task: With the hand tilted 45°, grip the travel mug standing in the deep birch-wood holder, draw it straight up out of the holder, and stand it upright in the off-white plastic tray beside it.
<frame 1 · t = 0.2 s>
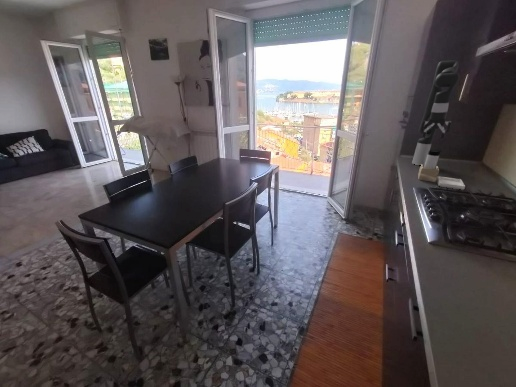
hand: (432, 138, 144), 29 cm above the worktop, tool pointing down, fingers open, 8 cm apart
travel mug: (426, 178, 160), resting in holder
tray: (449, 184, 150), on the worktop
holder: (426, 178, 160), on the worktop
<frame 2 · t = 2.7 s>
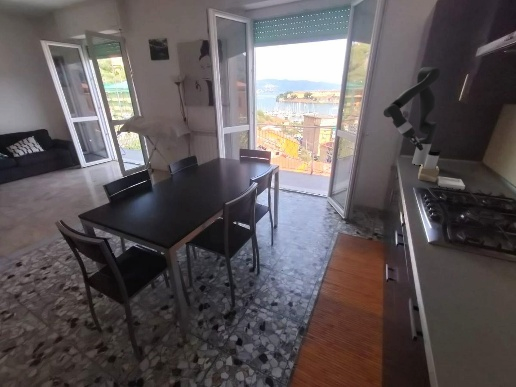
hand: (421, 148, 155), 20 cm above the worktop, tool tilted 45°, fingers open, 8 cm apart
nothing on the worktop moved.
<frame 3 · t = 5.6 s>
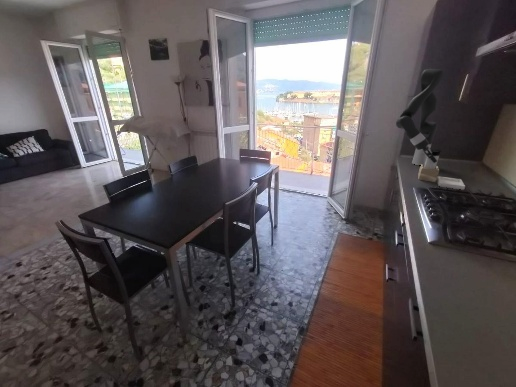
hand: (435, 160, 154), 13 cm above the worktop, tool tilted 45°, fingers closed on travel mug, 6 cm apart
travel mug: (426, 178, 160), resting in holder, touching gripper
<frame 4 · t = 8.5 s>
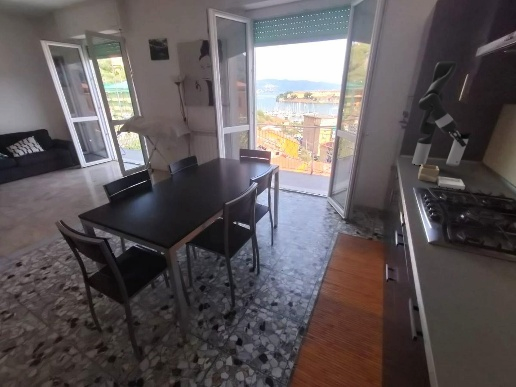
hand: (463, 144, 139), 26 cm above the worktop, tool tilted 45°, fingers closed on travel mug, 6 cm apart
travel mug: (452, 165, 145), point 13 cm above the worktop, touching gripper
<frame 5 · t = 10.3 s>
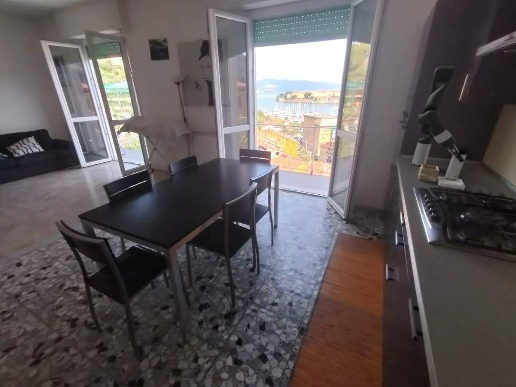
hand: (461, 160, 142), 17 cm above the worktop, tool tilted 45°, fingers closed on travel mug, 6 cm apart
travel mug: (450, 179, 148), point 4 cm above the worktop, touching gripper
when the fingers open (15 cm above the worktop, at t = 11.6 s): travel mug drops 1 cm, resting on tray.
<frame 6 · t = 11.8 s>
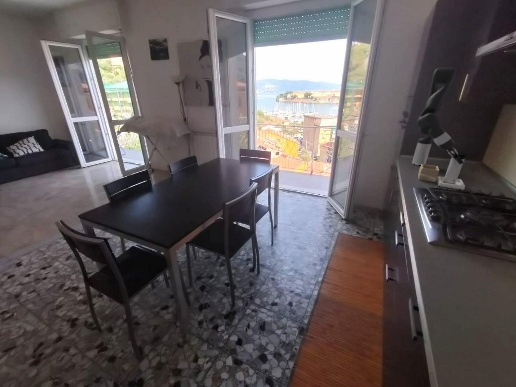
hand: (460, 161, 143), 16 cm above the worktop, tool tilted 45°, fingers open, 7 cm apart
travel mug: (449, 183, 150), point 1 cm above the worktop, touching tray
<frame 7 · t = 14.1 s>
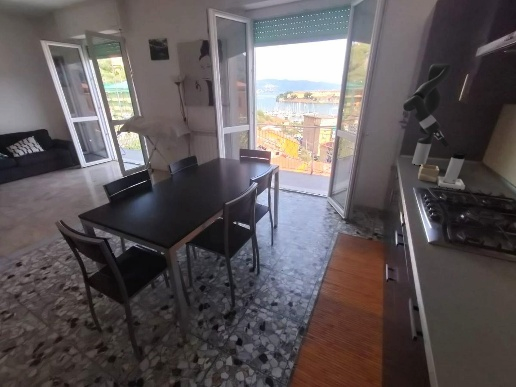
hand: (446, 144, 143), 25 cm above the worktop, tool tilted 45°, fingers open, 8 cm apart
nothing on the worktop moved.
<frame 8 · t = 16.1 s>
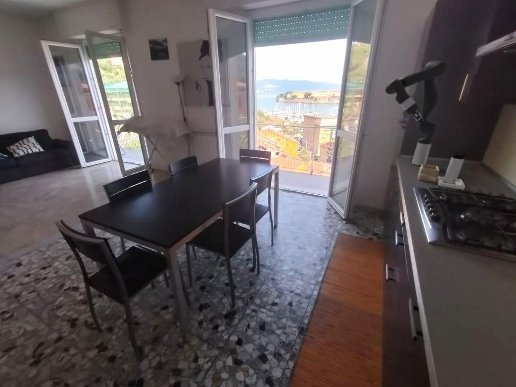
hand: (424, 125, 152), 35 cm above the worktop, tool tilted 45°, fingers open, 8 cm apart
nothing on the worktop moved.
at the end: travel mug inside the target area on the tray (0.3 cm from its centre), point 0.8 cm above the tray's base; travel mug tilted 0°; the gripper is holding nothing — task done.
